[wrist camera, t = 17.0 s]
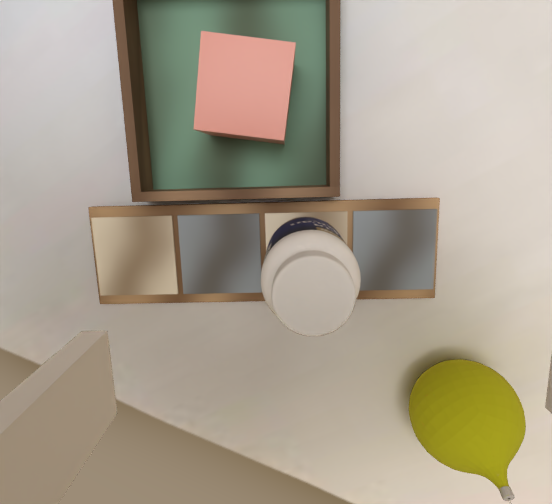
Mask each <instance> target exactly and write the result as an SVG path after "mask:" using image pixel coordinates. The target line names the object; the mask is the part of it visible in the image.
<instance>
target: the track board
mask: <svg viewBox="0 0 552 504" xmlns="http://www.w3.org/2000/svg"><path fill="white" fill-rule="evenodd" d="M439 202H440V198H406V199H367V200H329V201H290V202H252V203H213V204H175V205H136V206H98V207H89V217H90V225H91V233H92V242H93V250H94V258H95V267H96V275H97V283H98V292H99V300H100V304H128V303H182V302H235V301H265V299H264V296H263V293H262V289H261V271H262V266H263V262H264V258H265V255H266V251H267V247H268V244H269V241H270V239H271V237H272V235H273V234H274V232H275V231H276V230H277V229H278V228H279V227H280V226H281V225H282V224H284V223H285V222H287V221H289V220H291V219H294V218H297V217H315V218H319V219H321V220H324V221H326V222H327V223H329V224H330V225H332V226H333V227H334V228H335V229H336V230H337V232H338V233H339V234H340V236H341V237H342V238H343V240H344V241H345V243H346V244H347V245H348V247H349V248H350V250H351V251H352V253H353V254H354V256H355V258H356V260H357V263H358V265H359V269H360V276H361V282H360V290H359V294H358V296H357V299H396V298H435V279H436V260H437V240H438V221H439Z"/></svg>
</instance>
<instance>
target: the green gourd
mask: <svg viewBox="0 0 552 504" xmlns="http://www.w3.org/2000/svg"><path fill="white" fill-rule="evenodd" d="M409 416H410V420H411V424H412V427H413V430H414V433H415V435H416V437H417V439H418V440H419V441H420V443H421V444H422V446H423V447H424V448H425V449H426V451H427V452H428V453H429V454H431V455H432V456H433V457H434V458H435V459H436V460H438V461H439V462H441V463H442V464H444V465H446V466H448V467H450V468H452V469H454V470H458V471H462V472H466V473H472V474H478V475H481V476H483V477H486V478H487V479H489V480H490V481H491V482H493V483H494V484H495V485H496V486H497V488H498V489H499V491H500V493H501V496H502V498H503V500H505V501H510V500H513V499H514V495H513V492H512V490H511V488H510V487H509V485H508V480H507V468H508V465H509V463H510V462H511V460H512V459H513V458H514V456H515V455H516V453H517V451H518V450H519V448H520V446H521V443H522V441H523V439H524V435H525V427H526V425H525V416H524V410H523V408H522V405H521V402H520V400H519V398H518V396H517V394H516V392H515V391H514V389H513V388H512V387H511V385H510V384H509V383H508V382H507V381H506V380H505V379H504V378H503V377H502V376H501V375H500V374H498V373H497V372H496V371H494V370H493V369H491V368H489V367H487V366H485V365H483V364H480V363H477V362H474V361H469V360H462V359H457V360H447V361H443V362H440V363H438V364H436V365H434V366H432V367H430V368H429V369H428V370H426V371H425V372H424V373H423V374H422V375H421V376H420V377H419V378H418V380H417V381H416V383H415V385H414V387H413V389H412V392H411V395H410V400H409ZM510 502H511V501H510Z"/></svg>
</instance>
